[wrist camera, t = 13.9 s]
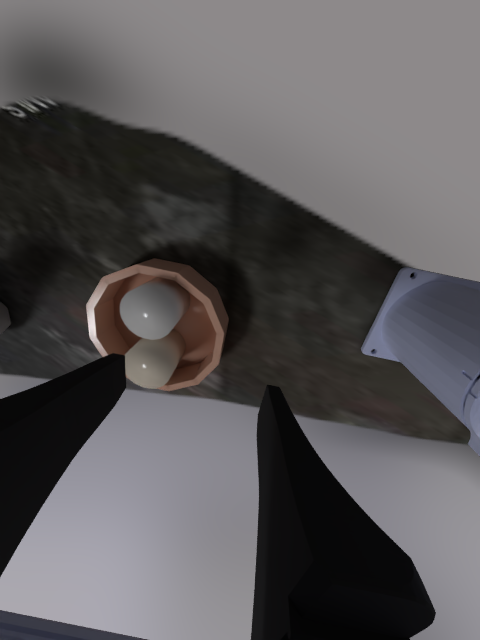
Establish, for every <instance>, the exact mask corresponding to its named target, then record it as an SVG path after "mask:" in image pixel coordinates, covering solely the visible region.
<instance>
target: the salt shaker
mask: <svg viewBox="0 0 480 640" xmlns="http://www.w3.org/2000/svg"><path fill="white" fill-rule="evenodd" d="M10 325H11V321H10V317H9V312H8V308H7V307H6V306H5V305H4V304H2V303H1V302H0V335H1V334H2V333H3V332H4V331H5V330H6V329H7V328H8V327H9V326H10Z"/></svg>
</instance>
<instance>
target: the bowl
mask: <svg viewBox="0 0 480 640" xmlns="http://www.w3.org/2000/svg"><path fill="white" fill-rule="evenodd" d="M155 277H161V278H166V279H170V280H175V281H176V282H177V283H179V284H180V285H181V286H182V287H183V288H185V289H186V290H187V291H188V292H189V294H190V306H189V309H188V310H187V312H186V313H185V314H184V316H183V317H182V318H181V319H180V320H179V322H178V323H177V324H176V325H175V326H174V328H173V329H175V330H177V331H178V332H179V333H180V334H181V335H182V337H183V338H184V340H185V344H186V350H185V353H184V355H183V356H182V358H181V360H180V362H179V363H178V365H177V367H176V368H175V370H174V372H173V374H172V375H171V377H170V379H169V381H168V382H167V383H166V384H165V385H164V386H162V387H159V388H156V389H161V390H166V391H171V390H176V389H180V388H184V387H188V386H193V385H197V384H199V383H200V382H201V381H202V380H203V379H204V378H205V377H206V376H207V375H208V374H209V373H210V372H211V371H212V370H213V369H214V368H215V367H216V366H217V365H218V364H219V361H220V358H221V354H222V351H223V347H224V343H225V337H226V332H227V326H228V321H229V318H228V315H227V313H226V310H225V308H224V305H223V302H222V300H221V297H220V295H219V292H218V290H217V288H216V287H215V286H213V285H212V284H211V283H210V282H209V281H207V280H206V279H205V278H204V277H203V276H201V275H200V274H199V273H198V272H197V271H195V270H194V269H193V268H192V267H191V266H190V265H185V264H180V263H175V262H171V261H166V260H161V259H156V258H154V259H151V260H148V261H145V262H142V263H139V264H136V265H133V266H131V267H128V268H125V269H123V270H120V271H117V272H115V273H112V274H110V275H107V276H104V277H102V279H101V281H100V282H99V284H98V286H97V287H96V289H95V291H94V293H93V294H92V296H91V298H90V299H89V301H88V303H87V305H86V308H87V317H88V327H89V336H90V339H91V340H92V342H93V343H94V345H95V346H96V348H97V349H98V351H99V352H100V354H101V355H102V357H104V356H107V355H109V354H112V353H116V354H121V355H125V354H126V353H127V352H128V351H129V350H130V349H131V348H132V347H133V346H134V345H135V344H136V343H137V342H138V341H139V340H140V339H141V338H142V337H139V336H137V335H136V334H134V333H133V332H131V331H130V330H129V329H128V328H127V326H126V325H125V324H124V322H123V320H122V318H121V314H120V303H121V300H122V298H123V297H124V295H125V294H126V293H128V292H129V291H131V290H133V289H135V288H137V287H138V286H140V285H142V284H144V283H146V282H148V281H150V280H152V279H154V278H155ZM126 377H127V375H126ZM127 378H128V377H127ZM128 379H129V378H128Z"/></svg>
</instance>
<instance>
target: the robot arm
mask: <svg viewBox="0 0 480 640" xmlns="http://www.w3.org/2000/svg"><path fill="white" fill-rule="evenodd" d="M413 272H414V276H413V277H411V278H410V275H411V274H412V273H413ZM373 349H375V350H374V351H373V352H371V351H372V350H373ZM361 351H362V352H363V353H364V354H365V355H370V356H374V357H379V358H384V359H389V360H394V361H399V362H401V363H402V364H403V365H404V366H405V367H406V368H407V369H408V370H409V371H410V372H411V373H412V374H413V375H414V376H415V377H416V378H417V379H418V380H419V381H420V382H422V383H423V384H424V385H425V386H426V387H427V388H428V389H429V390H430V391H431V392H432V393H433V394H434V395H435V396H436V397H437V398H438V399H439V400H440V401H441V402H442V403H443V404H444V405H445V406H446V407H447V408H448V409H449V410H450V411H451V412H452V413H453V414H454V415H455V416H456V417H457V418H458V419H459V420H460V421H461V422H462V423H463V424H464V425H465V426H466V427H467V428H468V429H469V430H470V432H471V438H470V441H469V443H468V445H469V446H470V447H471V448H472V449H473V450H474V451H475V452H476V453H477V454H478V455H479V456H480V282H477V281H472V280H467V279H463V278H458V277H453V276H448V275H443V274H439V273H434V272H429V271H424V270H419V269H415V268H410V267H404V268H402V269H400V271H399V272H398V274H397V276H396V278H395V280H394V282H393V284H392V286H391V288H390V290H389V292H388V294H387V296H386V298H385V300H384V303H383V305H382V307H381V309H380V311H379V313H378V315H377V317H376V319H375V321H374V323H373V325H372V327H371V329H370V331H369V333H368V335H367V337H366V339H365V341H364V343H363V345H362V347H361ZM125 388H126V370H125V355H121V354H116V353H112V354H109V355H107V356H104V357H102V358H100V359H98V360H96V361H93V362H91V363H89V364H87V365H85V366H83V367H80V368H78V369H76V370H74V371H72V372H69V373H67V374H65V375H62V376H60V377H58V378H55V379H53V380H50V381H48V382H46V383H43V384H41V385H38V386H36V387H33V388H31V389H28V390H25V391H22V392H20V393H17V394H14V395H11V396H8V397H5V398H3V399H0V577H1V575H2V573H3V571H4V570H5V568H6V566H7V564H8V563H9V561H10V559H11V557H12V556H13V554H14V552H15V550H16V549H17V547H18V545H19V543H20V542H21V540H22V538H23V537H24V535H25V533H26V531H27V530H28V528H29V527H30V525H31V523H32V522H33V520H34V519H35V517H36V515H37V513H38V512H39V510H40V509H41V507H42V505H43V504H44V502H45V501H46V499H47V498H48V496H49V495H50V493H51V491H52V490H53V488H54V487H55V485H56V484H57V482H58V481H59V479H60V478H61V476H62V475H63V473H64V472H65V470H66V469H67V467H68V466H69V464H70V462H71V461H72V460H73V458H74V457H75V456H76V454H77V453H78V451H79V450H80V449H81V448H82V446H83V445H84V444H85V443H86V441H87V440H88V439H89V438H90V436H91V435H92V434H93V433H94V431H95V430H96V429H97V428H98V426H99V425H100V424H101V423H102V421H103V420H104V419H105V418H106V416H107V415H108V414H109V412H110V411H111V410H112V409H113V407H114V406H115V404H116V403H117V401H118V400H119V398H120V397H121V395H122V393H123V392H124V390H125ZM257 453H258V475H259V514H258V536H257V557H256V573H255V590H254V605H253V619H252V633H251V640H410V639H409V638H410V637H412V636H414V635H416V634H417V633H419V632H420V631H422V630H424V629H426V628H427V627H428V626H430V625H431V624H432V623H433V620H434V618H435V614H436V612H435V610H434V607H433V605H432V603H431V600H430V598H429V596H428V594H427V591H426V589H425V587H424V584H423V582H422V580H421V578H420V576H419V574H418V572H417V570H416V568H415V566H414V564H413V562H412V560H411V558H410V557H409V556H408V555H407V554H406V553H405V552H404V551H403V550H402V549H401V548H400V547H399V546H398V545H397V544H396V543H395V542H394V541H393V540H392V539H391V538H390V537H389V536H388V535H387V534H386V533H385V532H384V531H383V530H381V528H379V526H378V525H377V524H376V523H375V522H374V521H373V520H372V519H371V518H370V517H369V516H368V515H367V514H366V513H365V512H364V510H363V509H362V508H361V507H360V506H359V505H358V504H357V503H356V502H355V501H354V499H353V498H352V497H351V496H350V495H349V494H348V493H347V491H346V490H345V489H344V488H343V487H342V485H341V484H340V483H339V482H338V481H337V479H336V478H335V477H334V476H333V474H332V473H331V472H330V471H329V469H328V468H327V467H326V465H325V464H324V463H323V461H322V460H321V458H320V457H319V456H318V454H317V453H316V451H315V450H314V448H313V447H312V445H311V444H310V442H309V441H308V439H307V438H306V436H305V434H304V433H303V431H302V429H301V428H300V426H299V424H298V422H297V420H296V419H295V417H294V415H293V413H292V411H291V409H290V407H289V405H288V404H287V402H286V399H285V397H284V395H283V393H282V391H281V389H280V388H279V387H276V386H271V385H267V387H266V390H265V393H264V397H263V400H262V403H261V406H260V410H259V413H258V423H257ZM0 640H147V639H142V638H137V637H132V636H127V635H122V634H116V633H112V632H107V631H101V630H97V629H92V628H86V627H82V626H77V625H72V624H67V623H62V622H57V621H52V620H47V619H42V618H37V617H32V616H27V615H21V614H16V613H12V612H7V611H2V610H0Z"/></svg>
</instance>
